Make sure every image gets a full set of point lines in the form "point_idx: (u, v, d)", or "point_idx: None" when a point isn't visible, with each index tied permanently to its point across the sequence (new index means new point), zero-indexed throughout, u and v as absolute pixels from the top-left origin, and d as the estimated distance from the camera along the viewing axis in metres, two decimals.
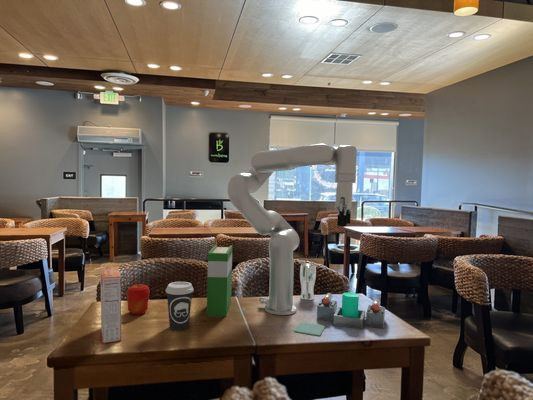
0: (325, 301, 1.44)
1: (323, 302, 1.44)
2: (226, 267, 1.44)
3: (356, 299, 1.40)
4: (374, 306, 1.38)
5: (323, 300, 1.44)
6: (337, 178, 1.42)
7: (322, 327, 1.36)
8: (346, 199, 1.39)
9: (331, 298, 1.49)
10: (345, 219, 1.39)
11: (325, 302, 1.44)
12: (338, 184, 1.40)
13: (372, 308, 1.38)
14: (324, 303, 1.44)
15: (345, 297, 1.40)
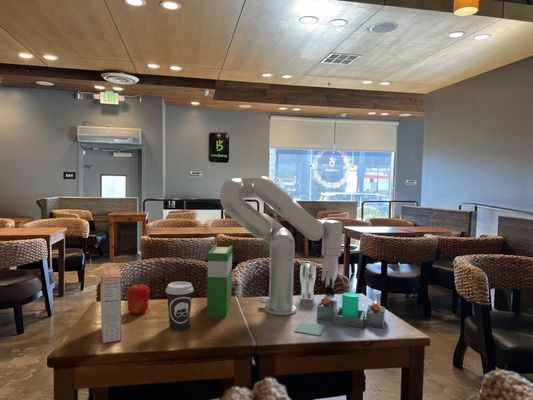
0: (325, 302, 1.44)
1: (323, 302, 1.44)
2: (226, 267, 1.44)
3: (356, 299, 1.40)
4: (374, 306, 1.38)
5: (323, 300, 1.44)
6: (324, 251, 1.50)
7: (322, 327, 1.36)
8: (332, 273, 1.47)
9: (331, 298, 1.48)
10: (332, 291, 1.52)
11: (325, 302, 1.44)
12: (324, 258, 1.49)
13: (372, 308, 1.38)
14: (324, 303, 1.44)
15: (345, 297, 1.40)
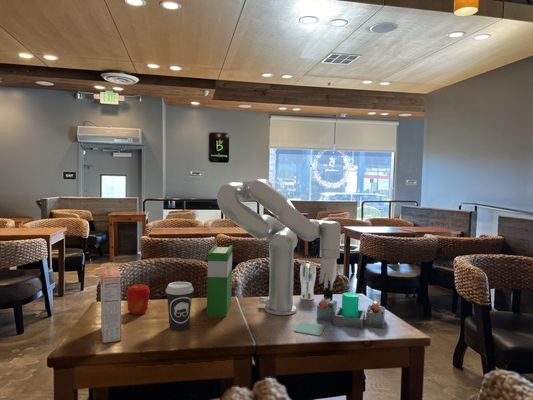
0: (323, 305, 1.40)
1: (321, 305, 1.40)
2: (226, 267, 1.44)
3: (356, 299, 1.40)
4: (374, 306, 1.38)
5: (321, 303, 1.40)
6: (321, 253, 1.46)
7: (322, 327, 1.36)
8: (330, 275, 1.43)
9: (329, 301, 1.45)
10: (331, 294, 1.48)
11: (323, 305, 1.40)
12: (322, 260, 1.45)
13: (372, 308, 1.38)
14: (322, 306, 1.40)
15: (345, 297, 1.40)
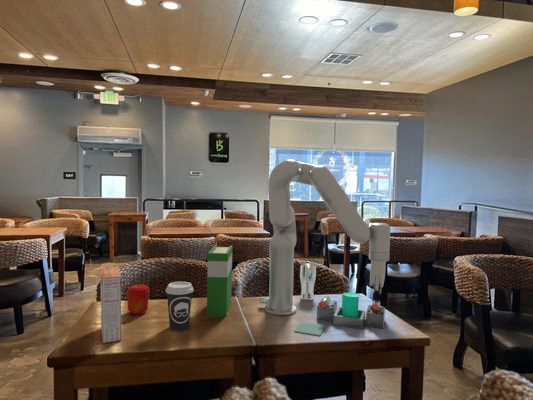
0: (323, 305, 1.40)
1: (321, 305, 1.40)
2: (226, 267, 1.44)
3: (356, 299, 1.40)
4: (374, 306, 1.38)
5: (321, 303, 1.40)
6: (371, 255, 1.44)
7: (322, 327, 1.36)
8: (381, 278, 1.41)
9: (329, 301, 1.45)
10: (380, 297, 1.46)
11: (323, 305, 1.40)
12: (373, 262, 1.43)
13: (372, 308, 1.38)
14: (322, 306, 1.40)
15: (345, 297, 1.40)
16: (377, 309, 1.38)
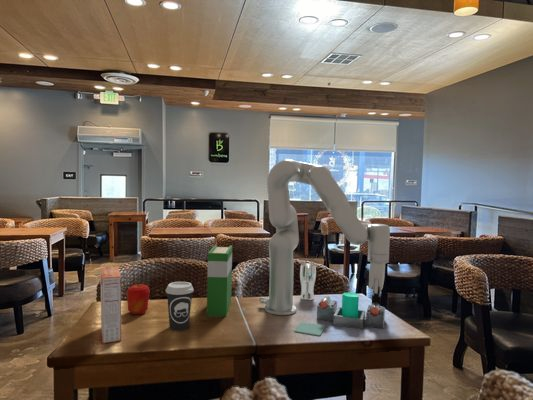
0: (323, 305, 1.40)
1: (321, 305, 1.40)
2: (226, 267, 1.44)
3: (356, 299, 1.40)
4: (373, 310, 1.34)
5: (321, 303, 1.40)
6: (370, 257, 1.40)
7: (322, 327, 1.36)
8: (380, 280, 1.37)
9: (329, 301, 1.45)
10: (379, 300, 1.42)
11: (323, 305, 1.40)
12: (372, 264, 1.39)
13: (371, 312, 1.34)
14: (322, 306, 1.40)
15: (345, 297, 1.40)
16: (376, 313, 1.34)
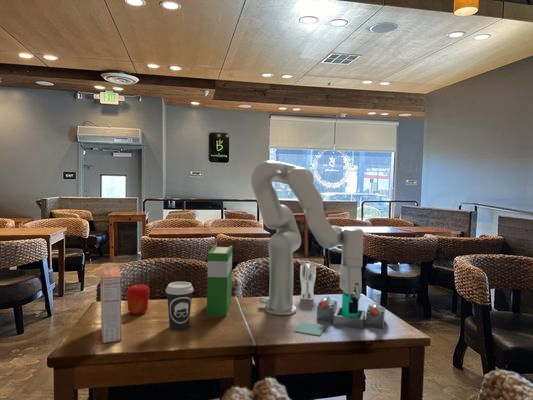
0: (323, 305, 1.40)
1: (321, 305, 1.40)
2: (226, 267, 1.44)
3: None
4: (373, 310, 1.34)
5: (321, 303, 1.40)
6: (348, 263, 1.38)
7: (322, 327, 1.36)
8: (360, 285, 1.37)
9: (329, 301, 1.45)
10: None
11: (323, 305, 1.40)
12: (351, 270, 1.37)
13: (371, 312, 1.34)
14: (322, 306, 1.40)
15: (345, 297, 1.40)
16: (376, 313, 1.34)
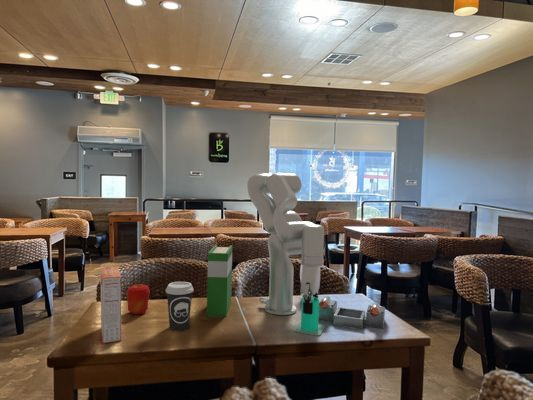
0: (323, 305, 1.40)
1: (321, 305, 1.40)
2: (226, 267, 1.44)
3: None
4: (373, 310, 1.34)
5: (321, 303, 1.40)
6: (303, 260, 1.32)
7: (322, 327, 1.36)
8: (312, 285, 1.29)
9: (329, 301, 1.45)
10: (311, 307, 1.30)
11: (323, 305, 1.40)
12: (304, 267, 1.30)
13: (371, 312, 1.34)
14: (322, 306, 1.40)
15: (302, 300, 1.34)
16: (376, 313, 1.34)
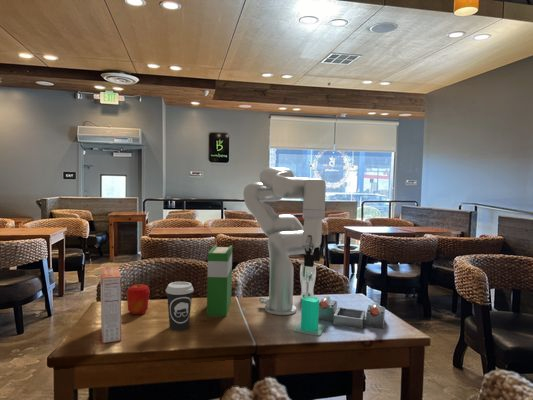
0: (323, 305, 1.40)
1: (321, 305, 1.40)
2: (226, 267, 1.44)
3: (311, 304, 1.31)
4: (373, 310, 1.34)
5: (321, 303, 1.40)
6: (304, 214, 1.31)
7: (322, 327, 1.36)
8: (313, 237, 1.28)
9: (329, 301, 1.45)
10: (312, 259, 1.28)
11: (323, 305, 1.40)
12: (305, 221, 1.29)
13: (371, 312, 1.34)
14: (322, 306, 1.40)
15: (302, 300, 1.34)
16: (376, 313, 1.34)
